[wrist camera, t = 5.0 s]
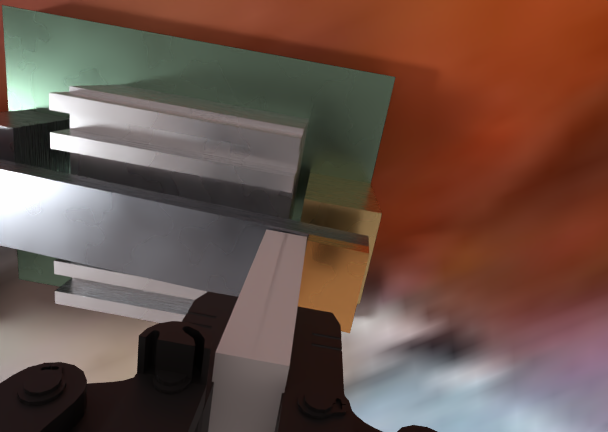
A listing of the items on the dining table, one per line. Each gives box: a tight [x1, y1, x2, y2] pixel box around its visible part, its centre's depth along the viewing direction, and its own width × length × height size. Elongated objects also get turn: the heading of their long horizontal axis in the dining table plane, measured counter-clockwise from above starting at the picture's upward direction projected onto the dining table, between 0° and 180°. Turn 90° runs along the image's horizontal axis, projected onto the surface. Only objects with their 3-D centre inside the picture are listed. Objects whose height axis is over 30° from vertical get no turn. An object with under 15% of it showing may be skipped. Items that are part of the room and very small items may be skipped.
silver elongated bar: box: [0, 159, 369, 333], centre depth 15 cm, size 16×4×2 cm, turn 80°
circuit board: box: [0, 5, 395, 323], centre depth 19 cm, size 18×14×7 cm
